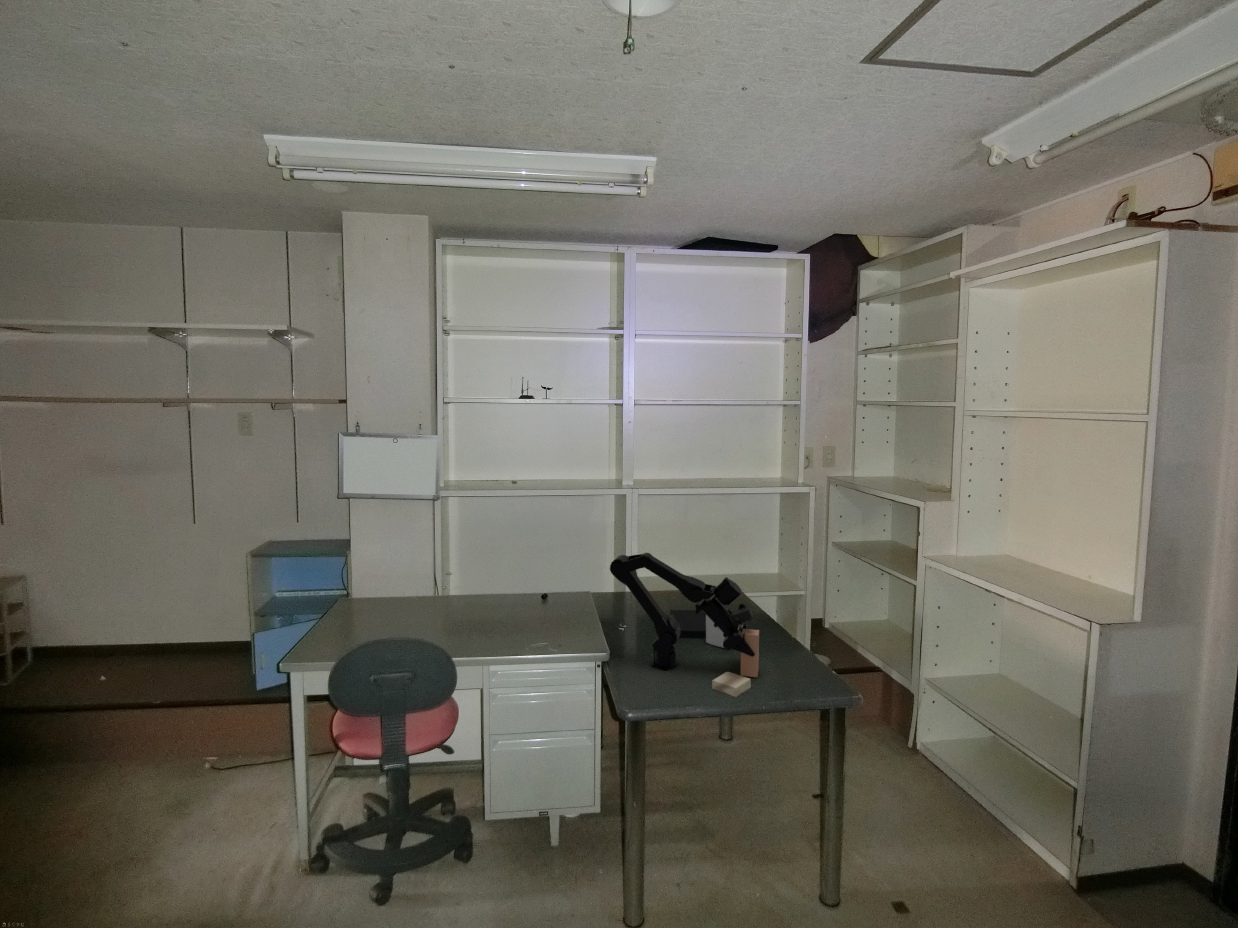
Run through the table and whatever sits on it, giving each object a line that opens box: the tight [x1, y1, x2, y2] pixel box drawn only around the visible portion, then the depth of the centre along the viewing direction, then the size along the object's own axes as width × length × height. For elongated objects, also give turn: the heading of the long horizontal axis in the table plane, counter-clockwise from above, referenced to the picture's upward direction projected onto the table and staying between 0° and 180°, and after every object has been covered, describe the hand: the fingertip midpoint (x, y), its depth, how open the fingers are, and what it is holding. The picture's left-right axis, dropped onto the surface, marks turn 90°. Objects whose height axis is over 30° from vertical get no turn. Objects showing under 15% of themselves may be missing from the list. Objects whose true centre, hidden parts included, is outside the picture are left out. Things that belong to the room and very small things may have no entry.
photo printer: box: [705, 615, 725, 649], centre depth 217 cm, size 10×4×12 cm, turn 47°
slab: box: [711, 671, 752, 698], centre depth 185 cm, size 8×8×3 cm
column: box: [740, 628, 760, 678], centre depth 194 cm, size 5×5×13 cm
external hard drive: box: [669, 609, 706, 639], centre depth 236 cm, size 14×23×3 cm, turn 175°
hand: (754, 652), depth 193 cm, fingers closed on column, 5 cm apart
